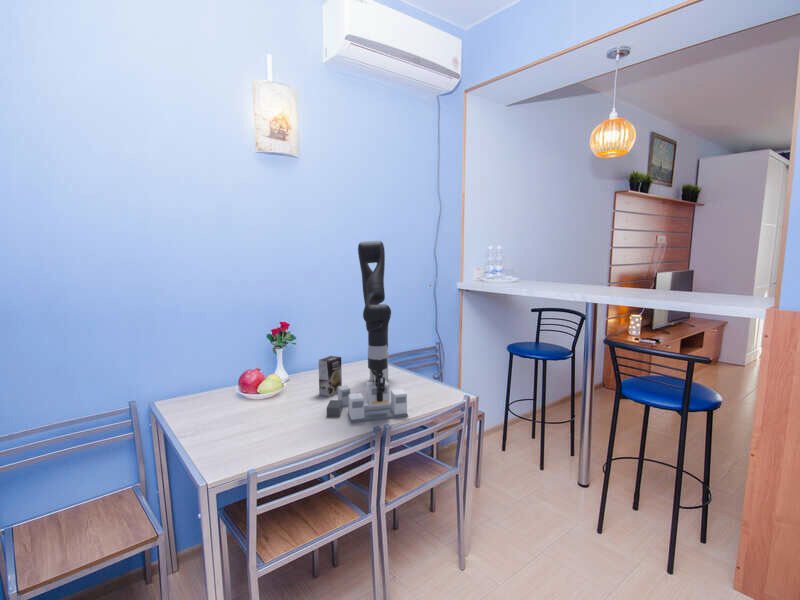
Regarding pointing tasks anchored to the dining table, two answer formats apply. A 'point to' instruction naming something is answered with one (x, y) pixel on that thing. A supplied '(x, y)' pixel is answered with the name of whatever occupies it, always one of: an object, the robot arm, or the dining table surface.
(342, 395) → the block
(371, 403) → the loose module
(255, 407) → the dining table surface
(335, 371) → the coffee box
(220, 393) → the dining table surface
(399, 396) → the rail mount
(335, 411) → the block
